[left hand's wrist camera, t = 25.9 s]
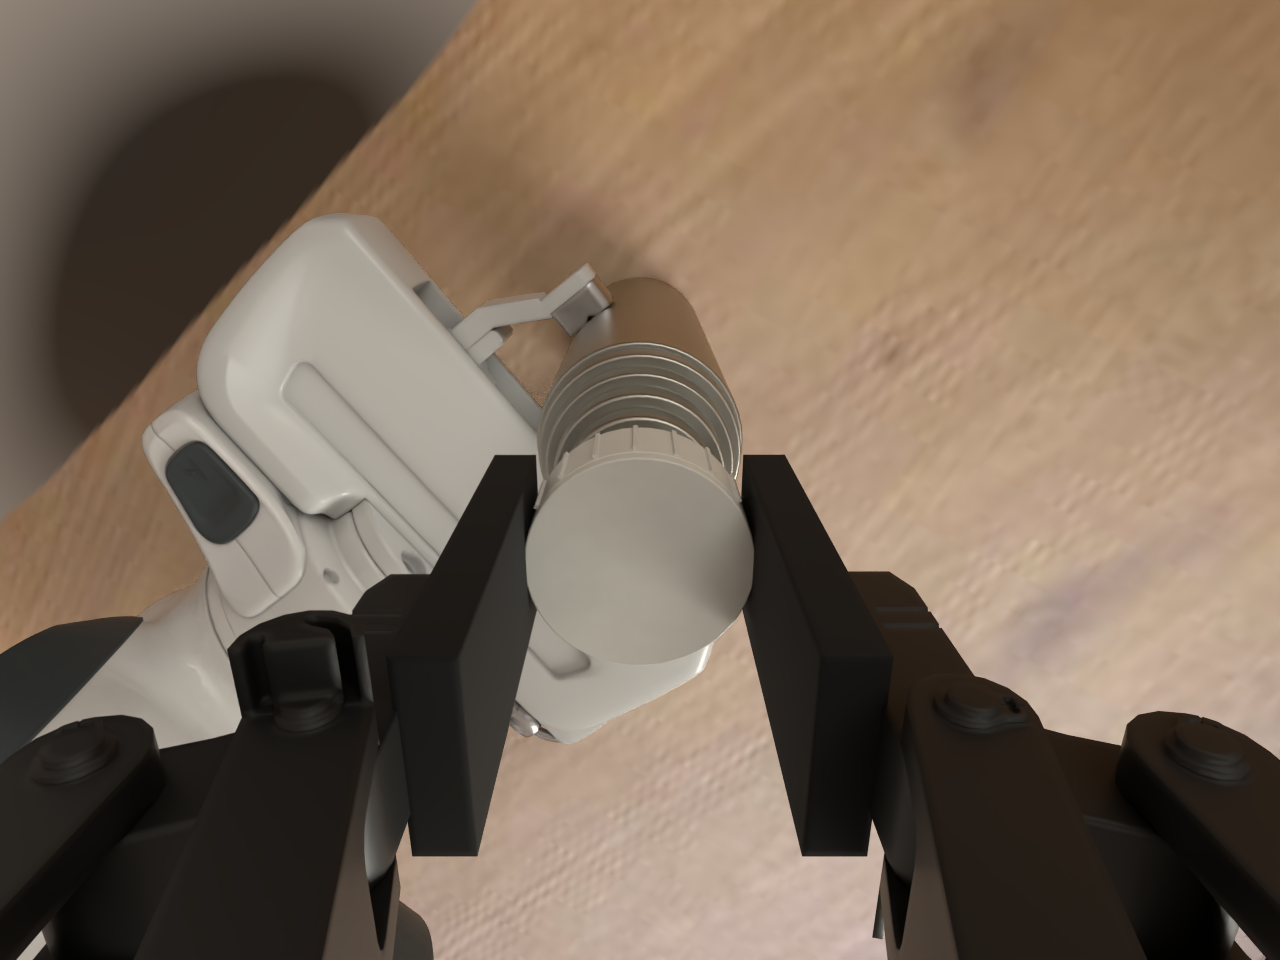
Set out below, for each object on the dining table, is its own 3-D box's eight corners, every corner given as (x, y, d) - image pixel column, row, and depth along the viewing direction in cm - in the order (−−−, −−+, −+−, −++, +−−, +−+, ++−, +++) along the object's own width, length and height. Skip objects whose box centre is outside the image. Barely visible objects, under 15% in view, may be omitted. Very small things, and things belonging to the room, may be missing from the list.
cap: (783, 555, 15) (801, 599, 13) (607, 651, 15) (602, 704, 14) (676, 382, 14) (680, 409, 12) (491, 495, 14) (472, 533, 13)
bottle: (654, 421, 34) (672, 711, 15) (555, 354, 33) (443, 576, 14) (725, 324, 32) (842, 512, 14) (624, 251, 31) (600, 345, 13)
